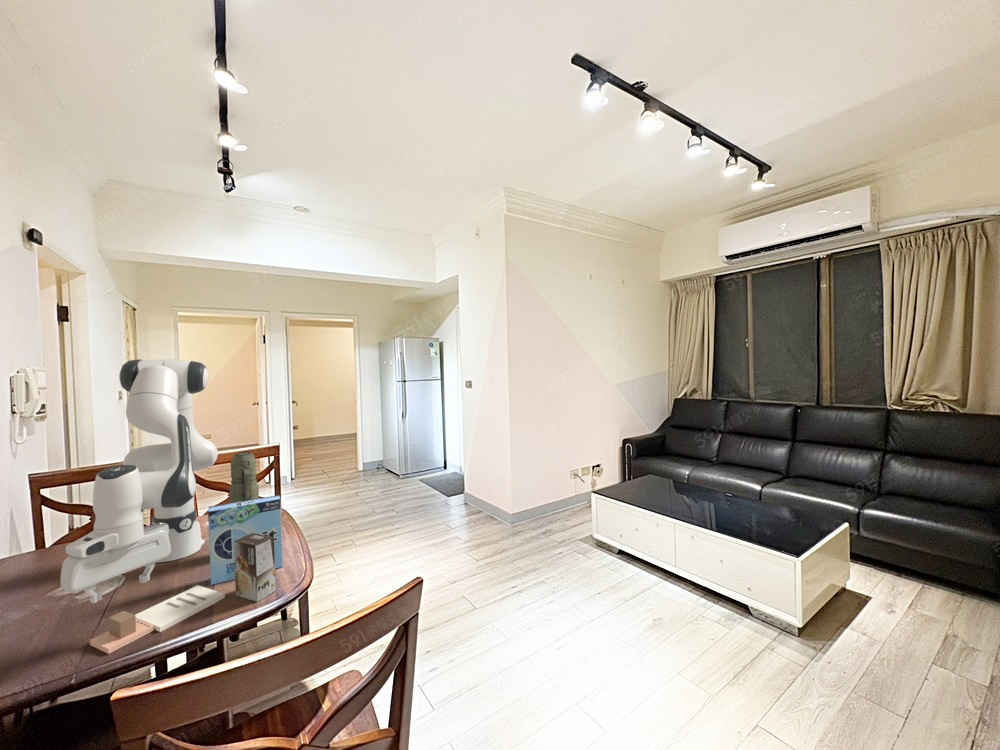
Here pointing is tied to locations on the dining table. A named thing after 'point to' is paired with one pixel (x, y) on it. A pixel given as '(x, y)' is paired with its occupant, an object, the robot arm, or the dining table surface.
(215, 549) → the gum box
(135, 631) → the peach base with block
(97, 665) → the dining table surface
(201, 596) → the ticket
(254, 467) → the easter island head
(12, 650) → the dining table surface
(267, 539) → the coffee box
